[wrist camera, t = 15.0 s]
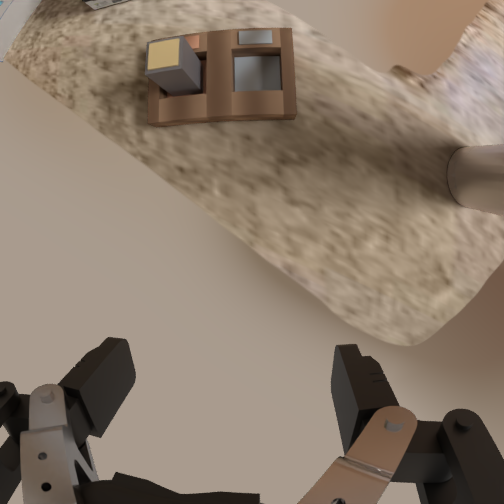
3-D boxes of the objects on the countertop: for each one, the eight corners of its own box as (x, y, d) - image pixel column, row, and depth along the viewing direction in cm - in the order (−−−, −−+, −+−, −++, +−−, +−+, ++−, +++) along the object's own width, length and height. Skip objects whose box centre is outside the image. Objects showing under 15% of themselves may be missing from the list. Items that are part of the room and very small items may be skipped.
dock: (290, 39, 33) (291, 27, 29) (294, 119, 36) (296, 113, 32) (159, 49, 34) (150, 40, 30) (157, 127, 37) (146, 123, 33)
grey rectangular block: (203, 66, 34) (182, 34, 24) (203, 93, 35) (181, 67, 25) (174, 70, 34) (146, 41, 24) (173, 96, 35) (143, 73, 25)
